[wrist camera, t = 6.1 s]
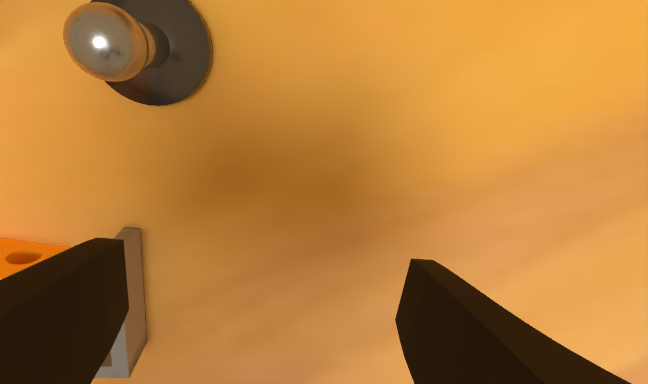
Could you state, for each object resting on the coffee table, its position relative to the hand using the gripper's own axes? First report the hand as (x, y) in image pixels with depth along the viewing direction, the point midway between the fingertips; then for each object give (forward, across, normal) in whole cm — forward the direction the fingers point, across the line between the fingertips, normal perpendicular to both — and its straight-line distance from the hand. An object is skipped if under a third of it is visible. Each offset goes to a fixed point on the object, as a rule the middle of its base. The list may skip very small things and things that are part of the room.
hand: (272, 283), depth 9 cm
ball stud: (+10, +6, -5) cm, 13 cm away
